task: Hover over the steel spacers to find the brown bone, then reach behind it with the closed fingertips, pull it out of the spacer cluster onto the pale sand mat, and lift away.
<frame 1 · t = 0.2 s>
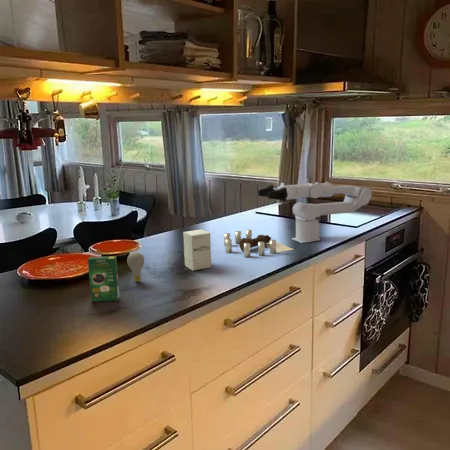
hand: (263, 194, 180), 21 cm above the worktop, tool horizontal, fingers open, 7 cm apart
light bulb: (137, 282, 149), on the worktop
brown bone: (257, 248, 183), on the worktop, touching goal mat
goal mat: (273, 245, 186), on the worktop
spacers: (257, 247, 183), on the worktop
supplement box: (198, 267, 162), on the worktop
coffee box: (106, 300, 134), on the worktop
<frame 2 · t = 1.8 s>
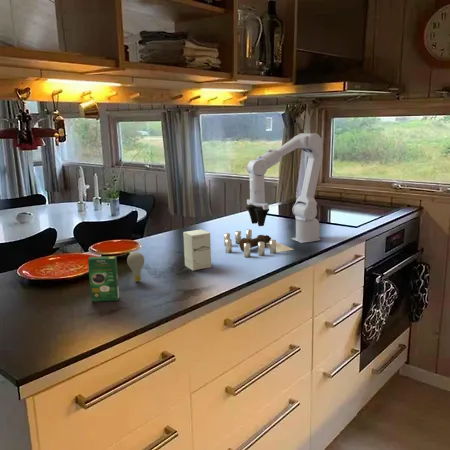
hand: (257, 224, 182), 9 cm above the worktop, tool pointing down, fingers open, 5 cm apart
nothing on the worktop moved.
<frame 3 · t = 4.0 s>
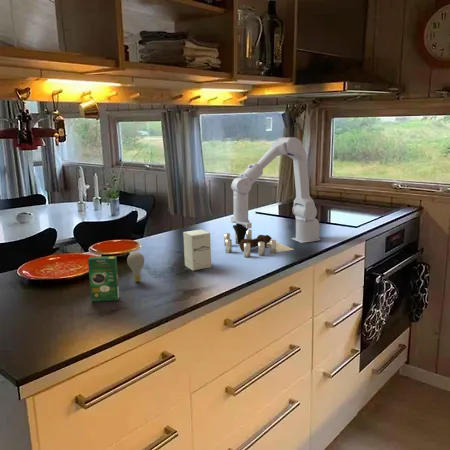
hand: (240, 242, 180), 3 cm above the worktop, tool pointing down, fingers closed, pressing on brown bone
brown bone: (257, 248, 183), on the worktop, touching gripper
everything else where it was.
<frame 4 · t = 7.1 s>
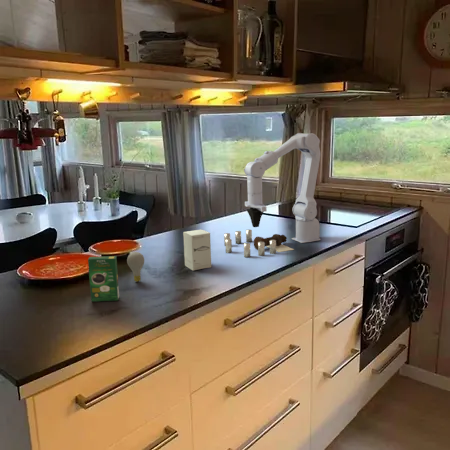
hand: (255, 226, 181), 9 cm above the worktop, tool pointing down, fingers closed
brown bone: (271, 247, 184), on the worktop, touching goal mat
everything else where it was.
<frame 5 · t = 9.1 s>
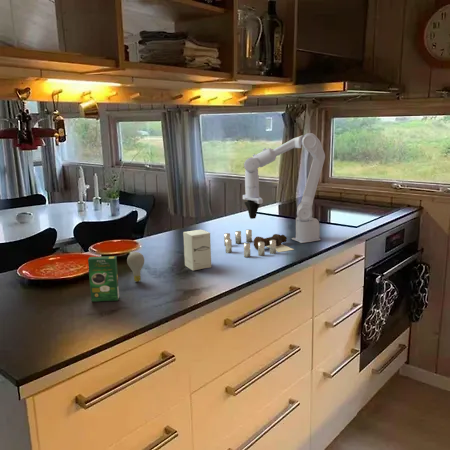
hand: (252, 218, 194), 9 cm above the worktop, tool pointing down, fingers closed
nothing on the worktop moved.
at the end: brown bone inside the target area on the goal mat (2.5 cm from its centre), point 0.0 cm above the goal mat's base; brown bone moved 6.0 cm from its start; the gripper is holding nothing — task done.
